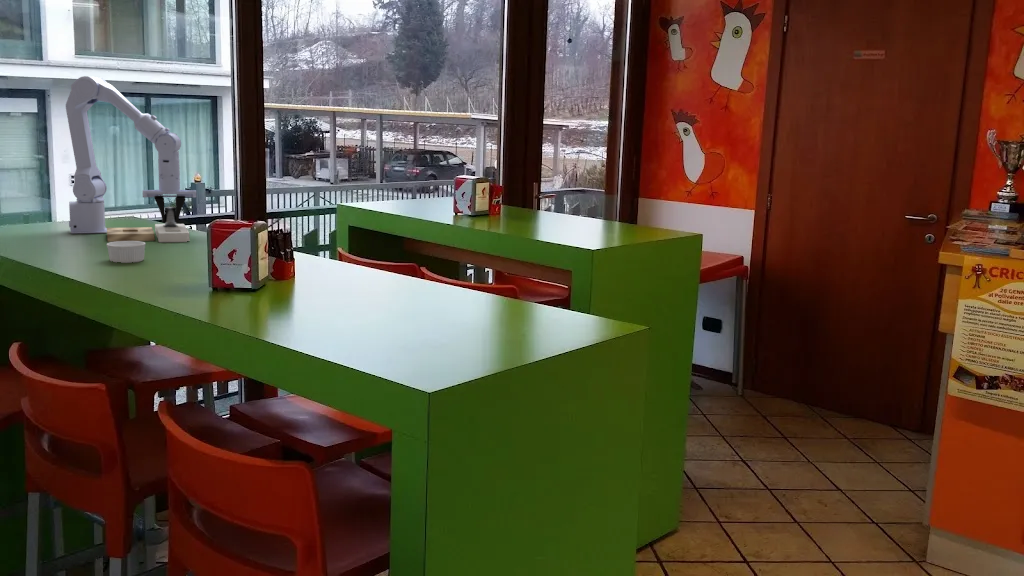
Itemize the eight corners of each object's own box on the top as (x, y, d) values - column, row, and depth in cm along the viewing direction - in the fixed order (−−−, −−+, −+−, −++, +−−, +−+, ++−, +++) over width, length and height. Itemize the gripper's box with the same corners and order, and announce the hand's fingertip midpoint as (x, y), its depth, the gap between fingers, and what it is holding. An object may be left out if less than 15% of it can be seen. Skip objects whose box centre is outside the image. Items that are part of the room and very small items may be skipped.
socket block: (107, 241, 249) (107, 234, 249) (107, 234, 260) (106, 227, 259) (154, 240, 254) (154, 233, 253) (152, 234, 265) (151, 227, 264)
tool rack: (159, 242, 252) (158, 233, 251) (155, 232, 268) (155, 224, 267) (189, 241, 255) (189, 233, 254) (183, 232, 271) (183, 223, 270)
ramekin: (107, 264, 219) (106, 246, 218) (107, 257, 227) (106, 240, 226) (147, 263, 223) (146, 245, 222) (145, 256, 231) (144, 240, 230)
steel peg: (165, 232, 263) (164, 208, 262) (165, 230, 266) (164, 206, 264) (176, 232, 264) (175, 208, 263) (176, 230, 267) (175, 206, 265)
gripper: (142, 176, 255) (144, 224, 258) (197, 176, 261) (198, 223, 264) (141, 174, 261) (143, 220, 264) (194, 174, 267) (195, 220, 270)
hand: (170, 222), depth 264 cm, fingers closed on steel peg, 3 cm apart
